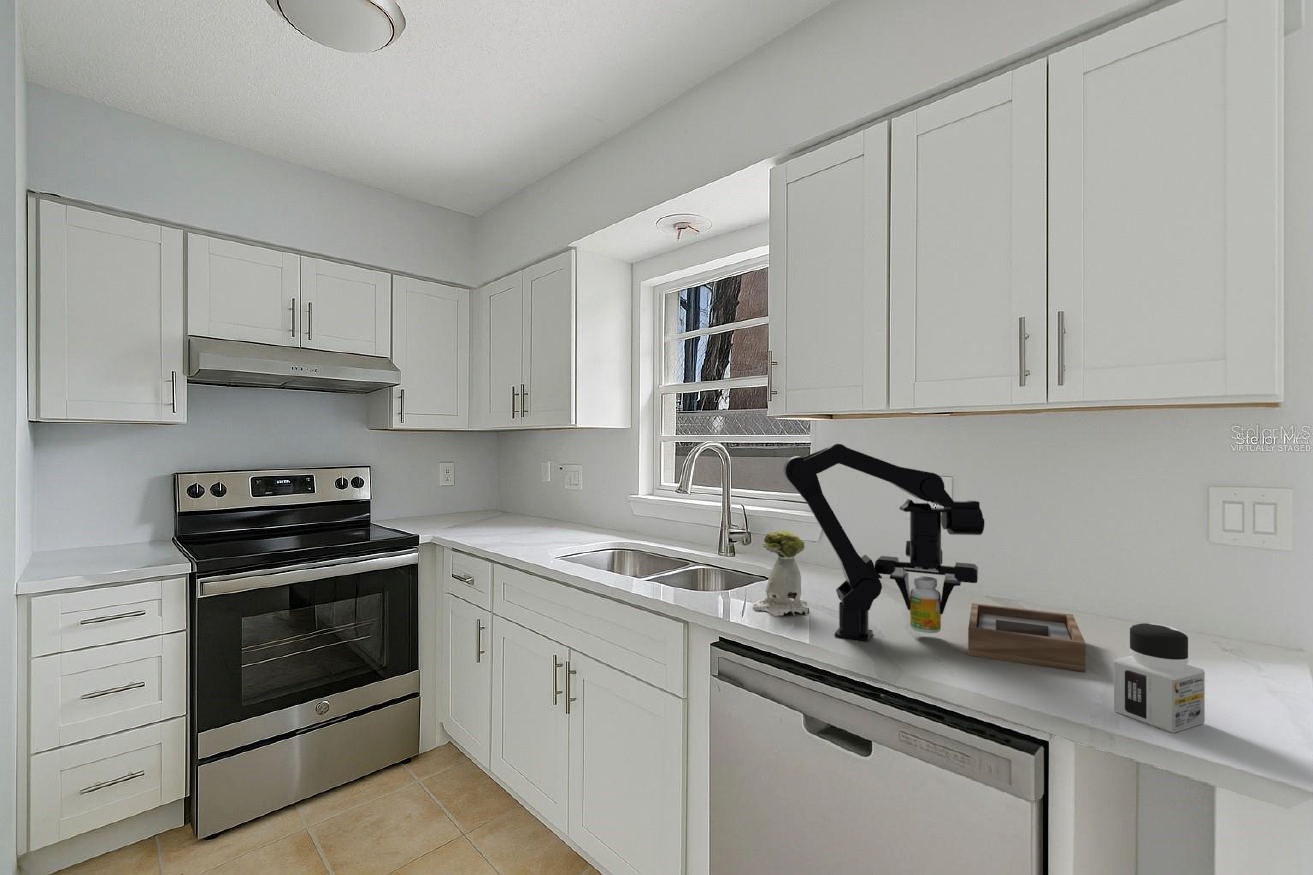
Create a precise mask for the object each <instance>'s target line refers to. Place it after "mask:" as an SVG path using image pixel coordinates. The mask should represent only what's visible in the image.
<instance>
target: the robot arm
mask: <svg viewBox="0 0 1313 875" xmlns="http://www.w3.org/2000/svg"><path fill="white" fill-rule="evenodd" d="M836 465H842V466H844V467H848V468H851V469H854V470H856V471H858V472H861V473H863V474H866V475H869V476H872V477H874V478H877V479H880V480H883V481H885V482H888V483H890V484H892V485H894V486H895V487H897V489H899V490H901V491H903V492H905V493H907V494H908V495H910V496H912V497H913V498H916V499H918V500H921V501H925V502H921V503H920V502H914V501H913V500H912V499H910V498H908V499H906V501H905V502H904V503H903V504H902V505H900V506H899V510H900V511H902V512H905V513H909V514H910V515H909V519H910V520H909V522H910V523H909V529H910V530H909V533H910V535H909V539H910V540H906V541H905V543H906V544H905V556H906V557H908V558H909V562H908V561H899V557H898V556H889V555H880V557H878V558H877V559H876V560H875V562H874V561H873V560H872V559H871V558H870V557H869V556H868V555H867V554H864V555H863V556H860V554H859V553H858V552H857V550H856V549H855V547H854V546H853V543H852V542H851V540H850V539H849V537H848V536H847V533H846V531H845V530H844V528H843V526H842V525H841V523H840V521H839V519H838V518H837V515H836V514H835V512H834V511H833V509H832V507H831V506H830V504H829V502H828V501H827V499H826V497H825V495H824V492H823V490H822V488H821V483H820V480H819V477H818V475H817V474H820V473H823V472H825V471H826V470H828V469H830V468H833V467H834V466H836ZM782 472H783V474H784V477H785V478H786V480H787V481H789V483H790V484H791V486H792V487H793V488H794V489H795V490H796V491H797V493H799V495H800V496H801V498H803V499H804V501H805V502H806V504H807V505H808V507H809V509H810V511H811V512H812V514H813V516H814V518H815V519H816V521H817V523H818V525H819V527H820V528H821V530H822V532H823V533H824V535H825V537H826V538H827V540H828V542H829V544H830V545H831V547H832V549H833V551H834V552H835V554H836V556H837V557H838V560H839V564H840V566H841V570H842V574H843V575H844V577H845V580H844V582H842V583H841V584H840V585H839V586H838V587H837V588H835V592H836V594H837V597H838V599H839V600H840V602H839V603H838V605H839V607H838V620H839V621H838V624H839V626H838V629H837V630H836V631H835V632H834V636H835V637H839V638H845V639H851V640H859V641H867V642H868V641H869V639H870V638H871V636H872V634H873V632H874V630H872V629H869V617H870V616H869V615H870V613H869V611H870V610H871V607H872V605H873V603H874V600H875V599H877V598H878V597H879V596H880V595H881V593H882V589H883V585H882V584H883V583H882V581H881V580H880V579H883V577H882V575H889V579H890V580H894V581H895V583H896V585H897V587H898V589H899V590H900V593H901V595H902V598H903V600H904V603H905V606H906V608H907V610H908V611H910V592H911V590H910V583H909V573H917V574H918V573H919V574H927V575H928V574H929V575H937V576H938V575H939V576H944V580H943V585H942V591H941V592H942V593H941V605H940V614H941V615H943V614H944V612H945V608H946V605H947V602H948V600H949V597H950V595H951V594H952V591H953V589H954V588H955V587H956V586H957V587H961V585H962V583H970V584H977V583H978V580H979V568H978V566H977V565H976V563H966V562H955V565H954V566H953V565H951V566H950V565H942V564H943V549H942V529H943V530H946V531H947V533H948V534H949V535H950V536H951V535H952V536H953V535H955V536H957V535H958V536H959V535H960V536H982V534H983V533H984V530H985V518H984V515H983V511H982V510H981V508H980V507H981V506H980V504H981V503H980V501H978V500H967V501H955V500H953V498H952V497H951V496H950V494H948V492H947V491H946V489H945V482H944V480H943V478H942V477H941V476H940V475H939V474H937V473H934V472H931V471H930V472H929V471H926V470H925V471H924V470H920V469H914V468H908V467H903V466H898V465H895V464H893V463H890V462H887V461H885V460H882V459H879V458H876V457H874V456H871V455H868V454H866V453H863V452H861V451H858V450H855V449H852V448H848V447H847V446H845V445H844V444H843V443H842V444H841V443H833V444H831V445H828V447H826V448H823V449H821V450H818V451H815V452H812V453H809V454H807V455H805V456H798V455H797V456H792V457H790V458H788V459H787V460H786V462H785V463H784V465H783V471H782ZM926 502H927V503H926ZM928 502H929V503H928ZM930 503H932V504H934V505H938V506H941V507H942V508H941V507H938V508H937V507H932V506H931V505H930Z"/></svg>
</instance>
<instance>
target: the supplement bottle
mask: <svg viewBox="0 0 1313 875" xmlns="http://www.w3.org/2000/svg"><path fill="white" fill-rule="evenodd" d="M913 584H914V586H915V587H913V588H911V589H910V610H909V611H910V613H909V627H910V628H911V629H912V630H913V631H916V632H919V633H926V634H937V633H939V632H940V631H941V628H942V625H941V623H942V622H941V618H942V614H940V605H941V598H942V593H941V592H940V591H939V590H937V589H936V588H937V586H938V580H937V578H935V577H931V576H925V575H924V576H922V575H921V576H918V575H917V576H915V577H914V578H913Z"/></svg>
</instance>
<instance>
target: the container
mask: <svg viewBox="0 0 1313 875" xmlns="http://www.w3.org/2000/svg"><path fill="white" fill-rule="evenodd" d="M1129 654H1130V655H1129V656H1125V657H1121V658H1116V659H1114V660H1113V710H1114V712H1116V713H1118V714H1120V715H1123V716H1126V717H1129V718H1131V719H1134V720H1136V721H1139V722H1142V723H1145V724H1147V725H1150V726H1152V727H1155V728H1158V729H1161V730H1163V731H1167V732H1168V733H1172V734H1174V733H1178V732H1180V731H1181V732H1182V731H1184V730H1187V729H1190V728H1195V727H1196V726H1199V725H1203V724H1205V720H1206V719H1205V715H1206V714H1205V712H1206V710H1205V705H1206V703H1205V702H1206V701H1205V700H1206V699H1205V698H1206V697H1205V695H1206V693H1205V692H1206V691H1205V688H1206V687H1205V686H1206V685H1205V681H1206V680H1205V675H1206V673H1205V670H1204V669H1203V668H1201V667H1196V666H1193V665H1190V664H1189V636H1188V635H1187V634H1186V633H1185V632H1183V631H1182V630H1180V629H1178V628H1175V627H1172V626H1169V625H1164V624H1158V623H1150V622H1149V623H1148V622H1147V623H1138V624H1137V623H1136V624H1134V625H1132V626H1131V627H1130V628H1129Z"/></svg>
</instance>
